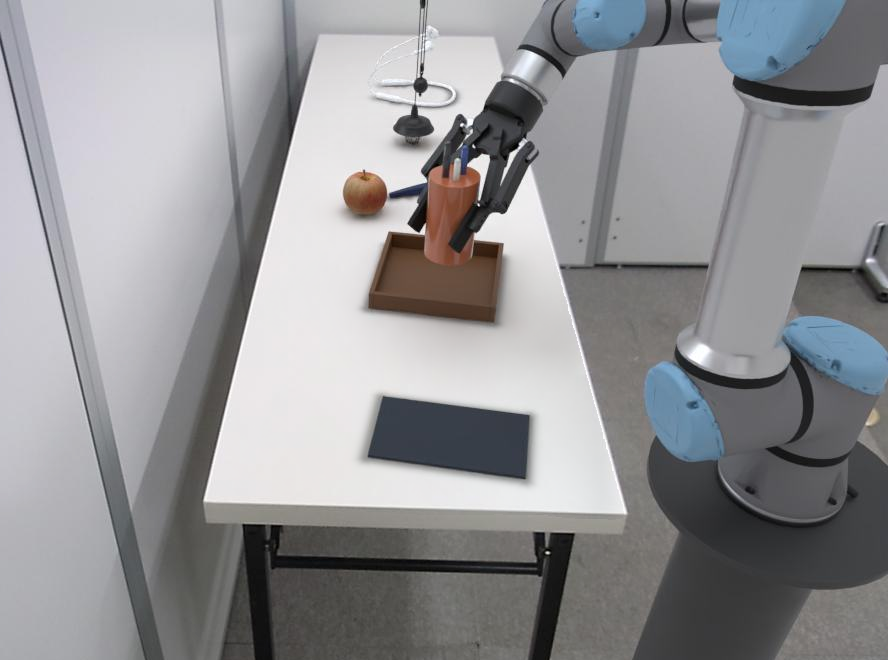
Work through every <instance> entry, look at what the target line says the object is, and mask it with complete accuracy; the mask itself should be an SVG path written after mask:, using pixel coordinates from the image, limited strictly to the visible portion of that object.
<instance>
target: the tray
mask: <svg viewBox="0 0 888 660" xmlns="http://www.w3.org/2000/svg"><path fill="white" fill-rule="evenodd" d="M385 238H386V239H385V241H384V244H383V248H382V251H381V254H380V257H379V260H378V263H377V267H376V268H375V269H376V270H375V273H374V276H373V279H372V281H371V285H370V288H369V292H368V306H367V307H368V309H373V310H379V311H380V310H381V311H391V312H397V313H407V314H417V315H423V316H424V315H425V316H432V317H433V316H434V317H442V318H450V319H458V320H467V321H476V322H485V323H495V318H496V311H497V303H498V295H499V288H500V287H499V286H500V279H501V271H502V262H503V255H504V254H503V253H504V245H505V243H504V242H498V241H497V242H496V241H487V240H479V239H478V240H476V239H474V246H473V255H472V257H471V259H470V260H469V261H467V262H465V263H463V264H459V265H442V264H437V263H435V262H432V261H430V260H429V259H428V258H427V257H426V256H425V254H424V242H425V234H421V233H410V232H400V231H388V233H387V235H386V237H385Z"/></svg>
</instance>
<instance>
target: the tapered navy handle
mask: <svg viewBox="0 0 888 660" xmlns="http://www.w3.org/2000/svg"><path fill="white" fill-rule="evenodd" d="M426 184H427V181H426V182H423V183H418V184H415V185H414V184H413V185H411V186H408V187H403V188H401V189H397V190H394V191H391V192H389V193H388V196H389V198H390V199H393V198H399V197H400V198H401V197H409V196H418V195H419V196H420V194H421V192H422V191H423V189H424V187H425V186H426Z"/></svg>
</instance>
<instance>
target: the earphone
mask: <svg viewBox="0 0 888 660" xmlns="http://www.w3.org/2000/svg"><path fill="white" fill-rule="evenodd" d="M439 34H440V33H439V31H438V29H436V28H435V27H433V26H432V25H426V39H425V32H423V46H422V54H424V39H425V53H431V52H433V51H434V49H435V44H434V43H433V41H431V40H437V39H438V38H439ZM418 38H419V35H418V36H415V37H413V38H410V39H408V40H406V41H404V42H401V43H399V44H397V45H395V46H394V47H392V48H390V49H389V50H387V51H386V52H384V53H383V54H382V55H381V56H380V58H379V59H378V60H377V61H376V63H375V65H374V67H373V69H372V72H371V74H370V75H369V78H368V80H367V87H368V89H369V91H370V93H371V94H373V95H374V96H375V98H376V99H380V100H384V101H387V102H388V101H389V102H394V103H405V104H410V105H414V104H415V100H411V99H405V98H403V97H400V96H398V95H393V94H388V93H384V92H379V91H377V92H376V93H375V92H374V91H373V90H372V89H371V87H370V81H371V79H372V78H373V79H374V80H375V82H376V83H379V84H381V86H385V87H386V86H387V87H388V86H408V85H413V84H414V81H415V80H409V79H401V78H391V79H390V78H386V79H381V80H378V79H376V77H375V73H376V71H377V70H379V69H380V68H381V67H383V66H385V65H388V64H390V63H393V62H395V61H398V60H401V59H403V58H407V57H409V56H418V49H416V50H414V51H413V52H412V53H408V54H405V55H402V56H399V57H395V58H393V59H390V60H388V61H386V62H383V63H382V64H380V65H378V64H379V62H381V60H382V59H383V58H384V57H385V56H386V55H387V54H388V53H390V52H391V51H393V50H395V49H397V48H398V47H400V46H402V45H405V44H407V43H409V42H411V41H414V40H418ZM420 38H421V39H420ZM420 38H419V39H420V44H421V45H422V33H420ZM429 38H430V39H431V40H429ZM419 55H421V48H419ZM427 83H428V86H435V87H442V88H445V89H447V90H449V91H450V92H451V93H452V95H451V98H449V99H448V100H446V101H442V102H423V101H416V105H417V106H422V107H444V106H447V105H449V104H452V103H453V102H454V101H455V99H456V96H457V93H456V90H455V88H453V87H452V86H451V85H449V84H446V83H443V82H438V81H437V82H436V81H430V80H429V81H428V80H427Z"/></svg>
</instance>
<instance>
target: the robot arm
mask: <svg viewBox="0 0 888 660" xmlns="http://www.w3.org/2000/svg"><path fill="white" fill-rule="evenodd" d="M707 43H721V44H720V46H719V47H718V54H719V57H720V59H721V62H722V63H723V65H724V66H725V68H726V69H727V70H728V71H729V73H731V74H733V78H732V79H733V80H732V83H731V88H732V91H733V92H734V94H735V95H736V96H737V97H738V99H739V100H740V101H741V102H742V104H743V107H744V108H743V113H742V118H741V120H740V121H741V122H740V126H739V130H738V135H737V140H736V144H735V148H734V152H733V157H732V162H731V165H730V166H731V167H730V170H729V174H728V179H727V183H726V187H725V191H724V196H723V200H722V205H721V210H720V213H719V218H718V224H717V228H716V232H715V236H714V240H713V245H712V249H711V254H710V258H709V263H708V267H707V272H706V275H705V281H704V285H703V289H702V294H701V298H700V303H699V307H698V311H697V315H696V320H695V322H694V323H692V324H691V325H687V326H686V327H685V328H683V329H682V330H681V331H680V332H679V334H678V335H677V338H676V343H675V346H674V347H675V348H674V352H673V356H672V359H671V360H670V361H666V360H665V361H660V362H659V363H658V364H656V365H655V366H652V367H650V369H649V370H648V372H647V374H646V376H645V379H644V386H643V397H644V405H645V409H646V413H647V416H648V418H649V422H650V424H651V427H652V429H653V432H654V433H655V436H656V435H657V437H658V438H659V440H660V441H661V443H662V444H663V445H664V446H665V448H666V449H667V450H668V451H669V452H670V453H671V454H673V455H674V456H676V457H677V458H679V459H681V460H684V461H687V462H698V461H706V460H718V461H717V464H716V477H717V480H718V483H719V485H720V487H721V488H722V490H723V491H724V493H725V494H726V495H727V496H728V497H729V498H730V499H731V500H732V501H733V502H734V503H735V504H736V505H737V506H739V507H740V508H742V509H743V510H744V511H746V512H748V513H749V514H751V515H753V516H755V517H757V518H759V519H762V520H764V521H767V522H770V523H773V524H777V525H781V526H786V527H795V528H807V527H814V526H819V525H822V524H825V523H827V522H829V521H830V520H832V519H833V518H834V517H835V516H836V515H837V514H838V513H839V511H840V509H841V507H842V505H843V503H844V501H845V498H846V494H849V495H850V496H851V497H852V498H856V497H857V496H858V495H859V492H857V491H856V490H855V489H854V488H852V487H851V486H850V485H849V484H848V483H847V482H848V457H849V454H850V453H851V451H852V449H853V447H854V445H855V443H856V441H858V440H859V437H860V435H861V434H862V431H863V429H864V428H865V425H866V423H867V421H868V419H869V418H870V416H871V413H872V412H873V410H874V408H875V406H876V404H877V402H878V400H879V398H880V397H881V395H882V394H884V392H885V389H886V383H887V381H888V351H887V350H886V348H885V347H884V346H883V345H882V344H881V343H880V342H879V341H877V339H876V338H874V337H873V336H871V335H870V334H868V333H867V332H865V331H863V330H862V329H860V328H858V327H856V326H854V325H852V324H849V323H846V322H843V321H841V320H838V319H836V318H835V319H833V318H831V317H825V316H817V315H808V316H807V315H805V316H799V317H796V318H793V320H791V321H790V322H789V323H788V324H787V326H786V327H785V325H786V321H787V319H788V318H787V317H788V315H789V311H790V307H791V304H792V301H793V297H794V294H795V290H796V286H797V283H798V281H799V277H800V273H801V270H802V267H803V263H804V259H805V256H806V253H807V249H808V246H809V242H810V239H811V235H812V232H813V228H814V226H815V221H816V219H817V215H818V212H819V208H820V204H821V202H822V198H823V195H824V191H825V188H826V184H827V180H828V178H829V173H830V170H831V167H832V164H833V161H834V158H835V157H834V156H835V153H836V150H837V147H838V143H839V140H840V136H841V132H842V129H843V126H844V123H845V119H846V117H847V116H848V115H850V114H851V113H854V112H855V111H857V109H860V108H861V107H862V106H864V105H866V104H867V103H868V102H869V101H870V99H871V96H872V93H873V90H874V87H875V85H876V84H875V83H876V80H877V78H878V74H879V71H880V67H881V66H884V65H888V0H544V2H543V4H542V6H541V9H540V10H539V11H538V13H537V15H536V17H535V19H534V21H533V22H532V23H531V25H530V27H529V28H528V30H527V32H526V34H525V35H524V37H523V38H522V40H521V42H520V44H519V45H518V48H517V49H516V50H515V51H514V53H513V55H512V56H511V58H510V60H509V61H508V63H507V64H506V66H505V68H504V69H503V71H502V73H501V74H500V80H499V81H497V82H495V84H494V86H493V88H492V89H491V91H490V93H489V94H488V96H487V98H486V99H485V101H484V104H483V108H482V111H481V112H480V113H479V114H477V115H476V116H475V117H474V118H472V117H465V115H464V114H462V113H458V114H457V115H455V118H454V121H453V124H452V126H451V128H450V129H449V130H448V132H447V134H446V135H445V136H444V137H443V139H442V140H441V142H440V143H439V144H438V146H437V147H436V149H435V150H434V151H433V153H432V154H431V155H430V156H429V158H428V159H427V161H426V162H425V163H424V165H423V166H422V167H421V169H420V174H421V175H422V176H423V177H424V179H426V182H427V184H426V186H425V187H424V189H423V191H422V192H421V194H420V195H419V196H418V197H417V198H416V204H417V206H416V209H415V210H414V211H413V213H412V214H411V216H410V217H409V220H408V221H407V223H406V225H408V226H409V227H410V228H411V229H412V230H413V231H414V232H416V233H417V234H421V231H422V230H423V228H424V227H425V226H426V212H427V197H428V182H429V173H430V171H431V170H432V169H434V168H436V167H438V166H442V165H443V154H444V144H445V142H446V141H450V142H451V143H452V149H451V161H450V164H454V161H455V159H456V158H459V159H460V158H461V148H462V146H464V145H467V146H468V147H469V153H468V163H467V165H468V164H470V163H471V162H472V161H473V160H474V159H478V158H479V157H480V156H482V155H485V156H489V162H488V167H487V170H486V171H487V172H486V174H485V178H484V182H483V187H482V190H481V195H480V197H479V198H480V199H478V200H477V202H478V205H477V204H475V203H473V204H472V205H471V207H470V209H469V210H468V212H467V213H466V215H465V217H464V218H463V220H462V222H461V223H460V225H459V226H458V228H457V230H456V231H455V233H454V235H453V236H452V238H451V240H450V241H449V243H448V245H449V246H450V247H451V248H452V249H453V250H454V251H456V252H457V253H459V254H460V253H461V251H462V250H463V248H464V246H465V245H466V243H467V241H468V240H469V238H470V237H471V235H472V233H473V232H475V234H477V233H478V232H480V231H481V229H482V227H483V226H484V224H485V223H486V221H487V220H488V218H489V216H490V215H492V214H494V213H496V214H500V215H505V214H506V213H507V212H508V209H509V208H510V205H511V204H512V201H513V200H514V198H515V196H516V193H517V191H518V190H519V188H520V185H521V183H522V181H523V180H524V177H525V175H526V173H527V171H528V169H529V167H530V165H531V164H532V163H533V162H534V161H535V160H536V159H537V158H538V157H539V154H540V151H539V149H538V148H537V146H536V145H535V144H534V142H533V141H531V140H527V136H528V133H529V132H532V130H533V129H534V127H535V126H536V124H537V122H538V120H539V119H540V117H541V116H542V113H543V112H544V107H545V106H547V105H548V104H549V102H550V101H551V99H552V98H553V96H554V94H555V93H556V91H557V90H558V88H559V86H560V84H561V83H562V81H563V80H564V78H565V77H566V75H567V73H568V72H569V70H570V69H571V67H572V66H573V64H574V62H575V61H576V59H577V57H582V56H583V57H584V56H587V55H591V54H596V53H601V52H603V53H604V52H612V51H622V50H631V49H641V48H642V49H643V48H651V47H652V48H653V47H658V46H660V47H661V46H673V45H674V46H675V45H686V44H687V45H688V44H707ZM471 131H472V132H471ZM516 150H517V152H516V154H515V155H514V157H513V159H512V161H511V163H510V165H509V167H508V163H509V160H510V154H512V153H514V151H516ZM506 168H508V169H507V171H506V173H505V169H506ZM504 173H505V176H504ZM503 176H504V177H503Z"/></svg>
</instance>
